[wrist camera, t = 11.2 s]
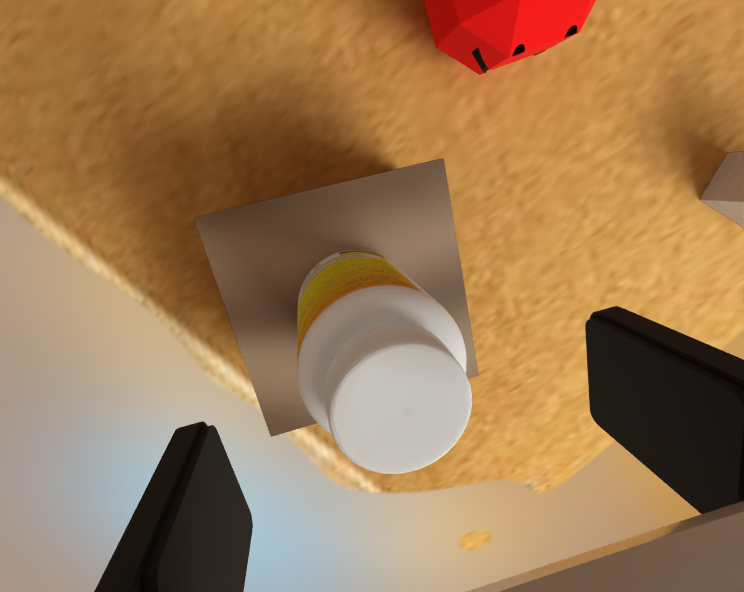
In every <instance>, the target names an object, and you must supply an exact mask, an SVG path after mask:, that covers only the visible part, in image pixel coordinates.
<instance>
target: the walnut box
mask: <svg viewBox="0 0 744 592" xmlns="http://www.w3.org/2000/svg"><path fill="white" fill-rule="evenodd" d="M194 220H195V223H196V226H197V229H198V232H199V234H200V237H201V240H202V243H203V246H204V249H205V251H206V254H207V257H208V260H209V263H210V266H211V268H212V271H213V274H214V277H215V280H216V283H217V285H218V288H219V291H220V294H221V297H222V300H223V302H224V305H225V308H226V311H227V314H228V317H229V319H230V322H231V325H232V328H233V331H234V334H235V336H236V339H237V342H238V345H239V348H240V351H241V353H242V356H243V359H244V362H245V365H246V367H247V370H248V373H249V376H250V379H251V382H252V384H253V387H254V390H255V393H256V396H257V399H258V401H259V404H260V407H261V410H262V413H263V416H264V418H265V421H266V424H267V427H268V430H269V433H270V435H271V436H275V435H278V434H282V433H285V432H289V431H292V430H295V429H299V428H302V427H306V426H309V425H312V424H316V423H317V422H316V421H315V420H314V418H313V417H312V416H311V414H310V413H309V411H308V410H307V408H306V406H305V404H304V401H303V399H302V396H301V393H300V389H299V384H298V374H297V332H298V328H297V315H298V311H297V305H298V298H299V293H300V290H301V287H302V284H303V282H304V280H305V279H306V277H307V275H308V274H309V273H310V271H311V270H312V269H313V268H314V267H315V266H316V265H317V264H318V263H319V262H321V261H322V260H324V259H325V258H327V257H329V256H331V255H333V254H335V253H338V252H341V251H346V250H365V251H370V252H374V253H376V254H379V255H381V256H383V257H385V258H386V259H388V260H389V261H391V262H392V263H393V264H395V265H396V266H397V267H398V268H399V269H400V270H402V271H403V272H404V273H405V274H406V275H407V276H408V277H410V278H411V279H412V280H413V281H414V282H415V283H417V284H418V285H419V286H420V287H421V288H422V289H423V290H424V291H425V292H427V293H428V294H429V295H430V296H431V297H433V298H434V299H435V300H436V301H437V302H438V303H439V304H441V305H442V306H443V307H444V308H445V309H446V310H447V312H448V313H449V314H450V315H451V317H452V318H453V319H454V321H455V322H456V324H457V326H458V327H459V329H460V332H461V334H462V337H463V340H464V344H465V349H466V357H467V362H466V375H467V377H468V378H472V377H475V376H478V375H479V374H478V368H477V362H476V356H475V350H474V343H473V337H472V331H471V325H470V319H469V313H468V306H467V300H466V294H465V288H464V282H463V275H462V269H461V263H460V257H459V251H458V244H457V238H456V232H455V226H454V220H453V213H452V207H451V201H450V195H449V189H448V183H447V176H446V170H445V164H444V158H443V159H437V160H433V161H429V162H425V163H420V164H416V165H412V166H408V167H403V168H399V169H395V170H391V171H387V172H382V173H378V174H374V175H370V176H366V177H361V178H357V179H353V180H349V181H344V182H340V183H336V184H332V185H328V186H323V187H319V188H315V189H311V190H307V191H302V192H298V193H294V194H290V195H286V196H281V197H277V198H273V199H269V200H264V201H260V202H256V203H252V204H248V205H243V206H239V207H235V208H231V209H227V210H222V211H218V212H214V213H210V214H205V215H201V216H198V217H195V218H194Z"/></svg>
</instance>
